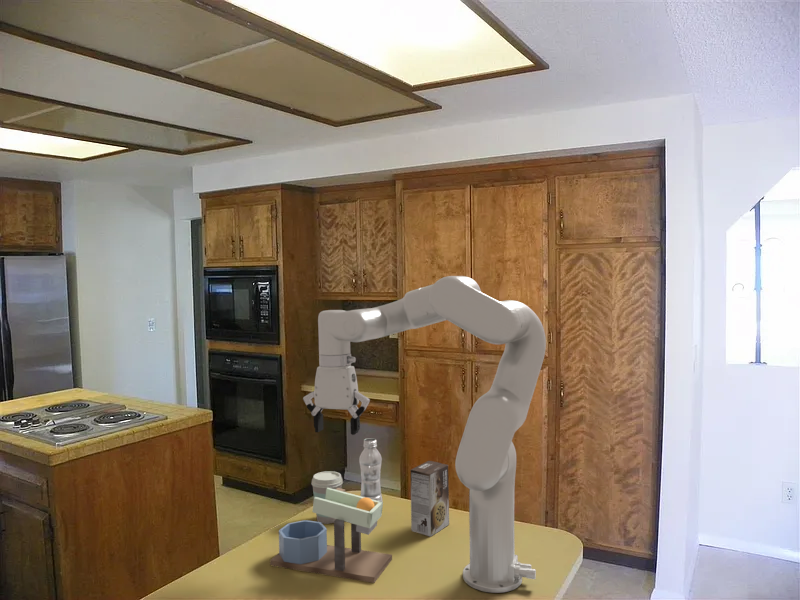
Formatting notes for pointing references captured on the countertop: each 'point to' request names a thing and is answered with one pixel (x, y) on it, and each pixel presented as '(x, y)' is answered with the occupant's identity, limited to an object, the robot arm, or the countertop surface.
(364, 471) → the plastic bottle
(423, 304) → the robot arm
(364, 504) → the orange ball
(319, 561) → the stand
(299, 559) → the blue cup
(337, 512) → the tipping tray
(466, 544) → the countertop surface
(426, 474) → the coffee box
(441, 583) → the countertop surface
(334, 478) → the coffee cup
